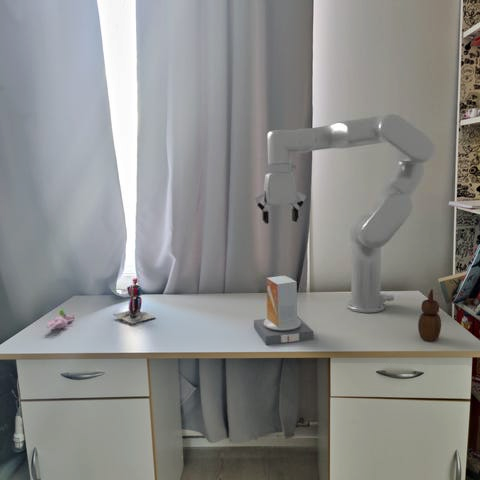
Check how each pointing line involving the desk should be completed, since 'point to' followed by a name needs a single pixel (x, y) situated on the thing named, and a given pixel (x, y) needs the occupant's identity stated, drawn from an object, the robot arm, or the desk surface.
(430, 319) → the wooden figurine
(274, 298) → the small box
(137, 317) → the statue
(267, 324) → the scale
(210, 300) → the desk surface
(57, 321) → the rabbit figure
